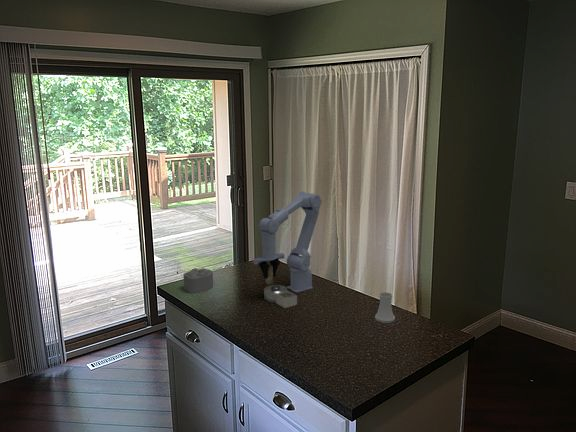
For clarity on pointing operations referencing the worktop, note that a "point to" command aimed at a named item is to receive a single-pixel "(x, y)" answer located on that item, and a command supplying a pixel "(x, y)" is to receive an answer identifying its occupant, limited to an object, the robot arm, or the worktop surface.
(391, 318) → the vase
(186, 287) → the lumpy-topped squat cylinder
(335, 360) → the worktop surface
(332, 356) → the worktop surface
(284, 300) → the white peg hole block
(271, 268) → the key peg
